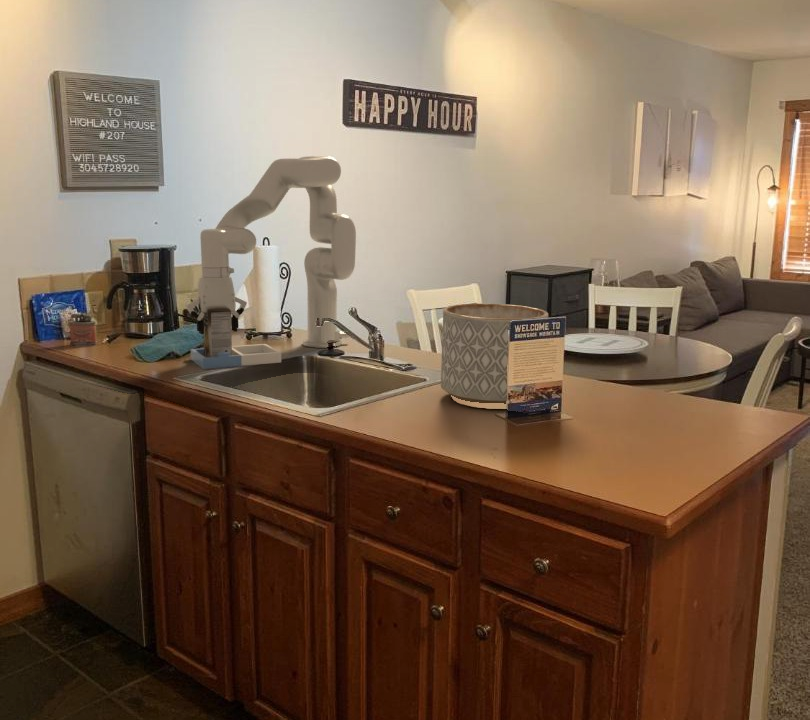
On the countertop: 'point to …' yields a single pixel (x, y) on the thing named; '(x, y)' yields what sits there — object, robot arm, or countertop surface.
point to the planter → (479, 349)
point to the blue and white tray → (238, 356)
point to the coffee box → (217, 332)
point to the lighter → (82, 330)
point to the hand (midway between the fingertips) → (218, 332)
